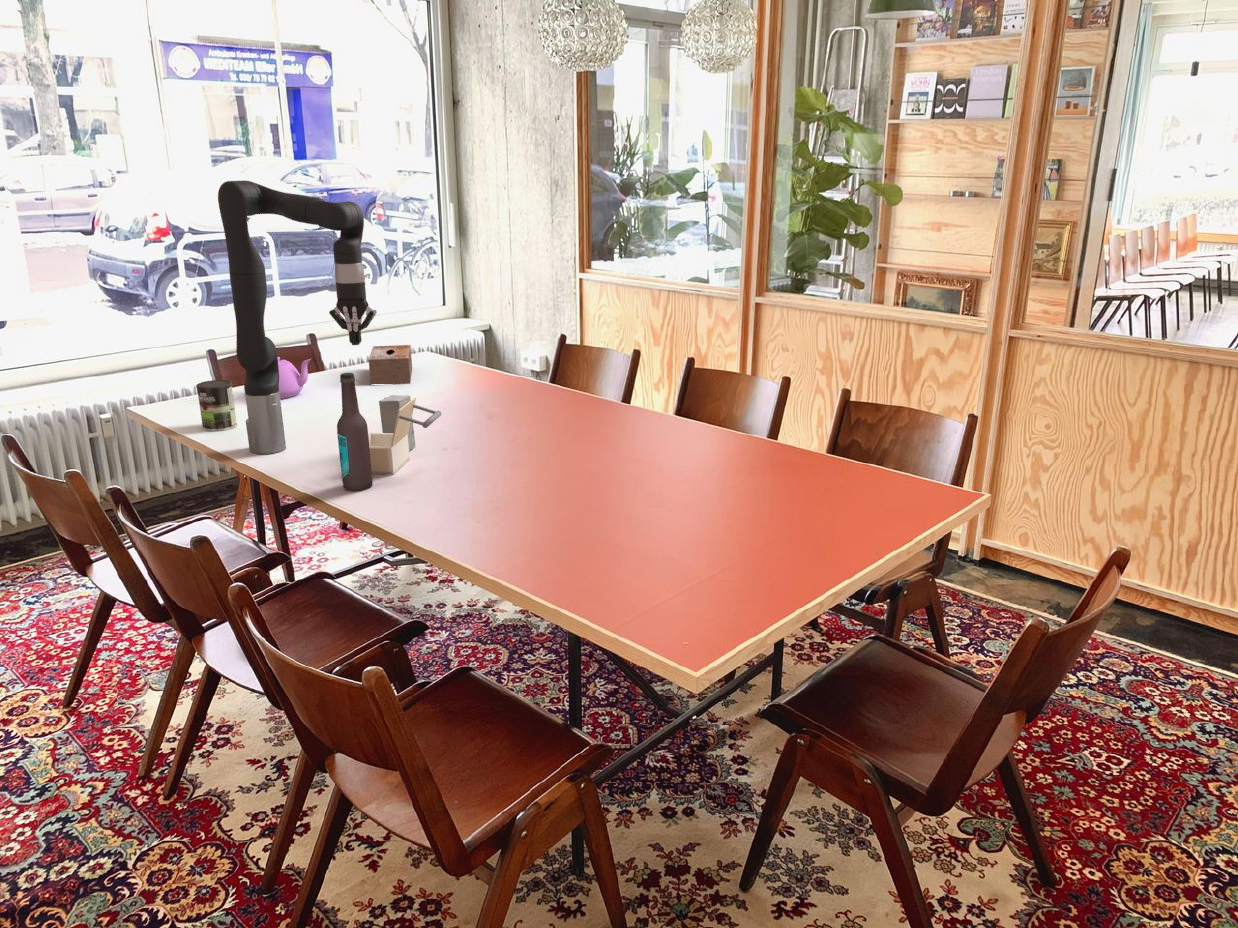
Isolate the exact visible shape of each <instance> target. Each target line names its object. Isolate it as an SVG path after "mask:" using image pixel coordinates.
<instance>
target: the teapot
mask: <svg viewBox="0 0 1238 928" xmlns="http://www.w3.org/2000/svg"><path fill="white" fill-rule="evenodd" d="M277 357H278V367H279V394H280V399H289V398H291V397H294V396H298V394H300V392H301V391H302V390H303V388H304V386H305V384H306V383H307V382H308V379H309V373H308V363H309V362H310V361H311V360H312V358H308V359H305V360H303V361H302V363H301V367H300V369H301V370H300V372H299V371H298V369H297V368H296V367H295V365H294V364H293V363H291V361H289V360H286V359H281V357H280V356H277ZM288 397H289V398H288Z"/></svg>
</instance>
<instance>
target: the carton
mask: <svg viewBox="0 0 1238 928" xmlns="http://www.w3.org/2000/svg"><path fill="white" fill-rule="evenodd" d="M368 437H369V448H370V458H371V469H372V475H385V474H392V475H393V476H394V475H395V474H396V473H397V472H398V471H400V470H401V468H403V467H404V466H405V465H406V464H407V463H408V462H409V461H410V460H411V459H410V451H409V444H408V434H406V435H405V436H404V437H403V438H402V439H400V440H399V441H398V442H397V443H396V444H395V445H393V446H391V443H392V438H393V433H383V432H368ZM392 475H391V476H392Z"/></svg>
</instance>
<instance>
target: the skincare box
mask: <svg viewBox="0 0 1238 928" xmlns="http://www.w3.org/2000/svg"><path fill="white" fill-rule="evenodd" d="M411 400H412V399H411V395H408V394H406V395H397V394H396V395H395V394H394V395H391V394H390V395H389V396H387V397H384V398H382V399H380V400H379V401H378V404H379V405H378V407H379V413H380V421H381V429H382V431H381V432H382V433H394V429H395V424H396V419H397V414H398V410H399V409H400V408H402V407H403V406H404V405H406V404H407V403H408V402H410V401H411ZM408 444H409V452H410V451H411V450H412V449H414V448H416V440H415V429H414V423H413V422H411V423H410V428H409V433H408Z"/></svg>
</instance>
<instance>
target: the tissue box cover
mask: <svg viewBox="0 0 1238 928" xmlns="http://www.w3.org/2000/svg"><path fill="white" fill-rule="evenodd" d="M411 346H412V345H411V344H403V345H401V344H400V345H398V344H397V345H395V344H394V345H378V346H377V345H373V347H372V349H371V352H370V354H369V358H368V366H369V367H368V368H369V369H368V370H369V378H370V385H371V384H393V385H411V384H412V383H411V382H412V376H413V375H412V374H413V361H412V360H413V359H412V349H411Z"/></svg>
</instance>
